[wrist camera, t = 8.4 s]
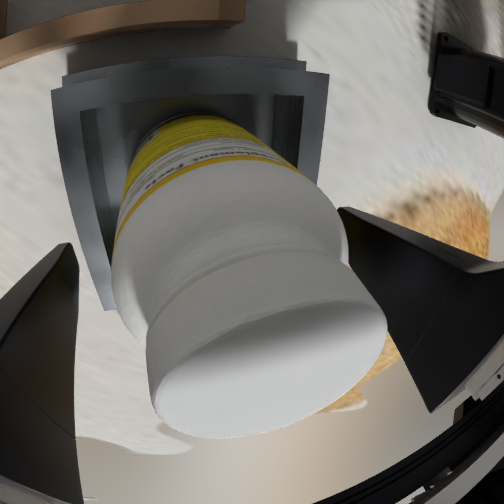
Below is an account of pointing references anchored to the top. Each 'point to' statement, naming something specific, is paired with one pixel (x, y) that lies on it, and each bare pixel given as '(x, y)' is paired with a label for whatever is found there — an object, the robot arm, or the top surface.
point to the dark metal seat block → (165, 107)
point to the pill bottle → (237, 282)
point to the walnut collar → (116, 24)
